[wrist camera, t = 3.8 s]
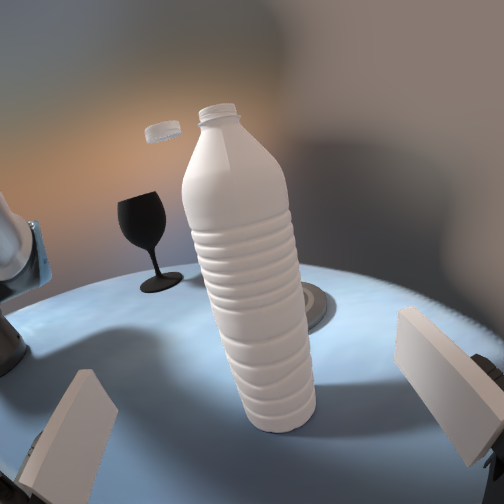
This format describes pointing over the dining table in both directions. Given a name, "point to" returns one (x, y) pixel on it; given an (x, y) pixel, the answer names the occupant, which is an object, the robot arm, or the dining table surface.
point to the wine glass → (147, 234)
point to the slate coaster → (314, 304)
